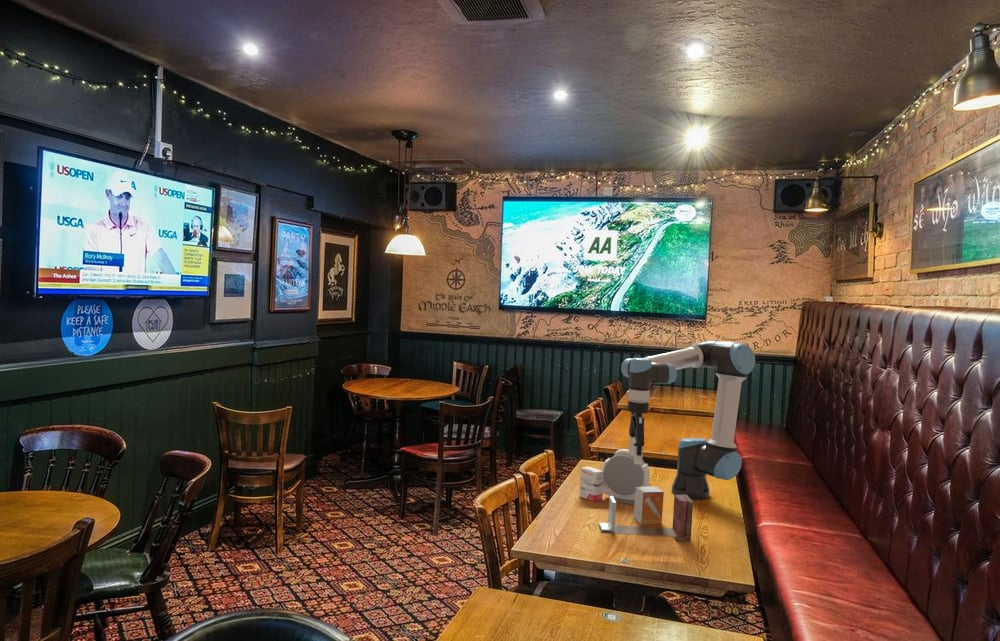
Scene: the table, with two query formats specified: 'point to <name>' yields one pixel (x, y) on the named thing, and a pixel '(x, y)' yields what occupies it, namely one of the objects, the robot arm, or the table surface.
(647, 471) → the alarm clock
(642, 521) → the small box
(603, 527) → the bookend
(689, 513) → the book board
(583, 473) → the ink box
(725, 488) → the table surface
